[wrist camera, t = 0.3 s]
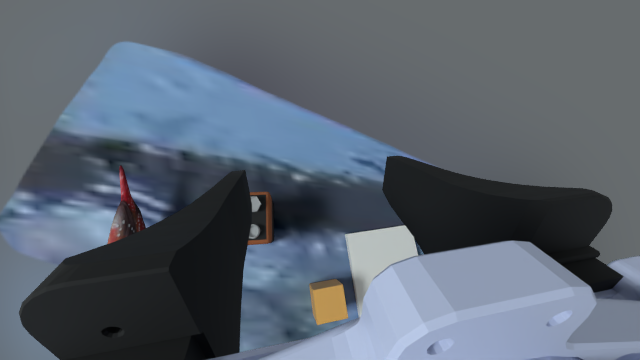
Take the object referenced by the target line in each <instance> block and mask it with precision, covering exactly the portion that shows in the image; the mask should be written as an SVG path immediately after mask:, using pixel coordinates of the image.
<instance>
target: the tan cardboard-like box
mask: <svg viewBox="0 0 640 360" xmlns="http://www.w3.org/2000/svg"><path fill="white" fill-rule="evenodd" d="M309 285H310V293H311V301H312V309H313V315H314V317H315V320H316V323H317V325H319V324H324V323H328V322H333V321H337V320H342V319H346V318H348V314H347V308H346V301H345V295H344V288H343V284H342V283H340V282H339V281H338V280H337V279H332V280H327V281H321V282H316V283H310V284H309Z"/></svg>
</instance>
